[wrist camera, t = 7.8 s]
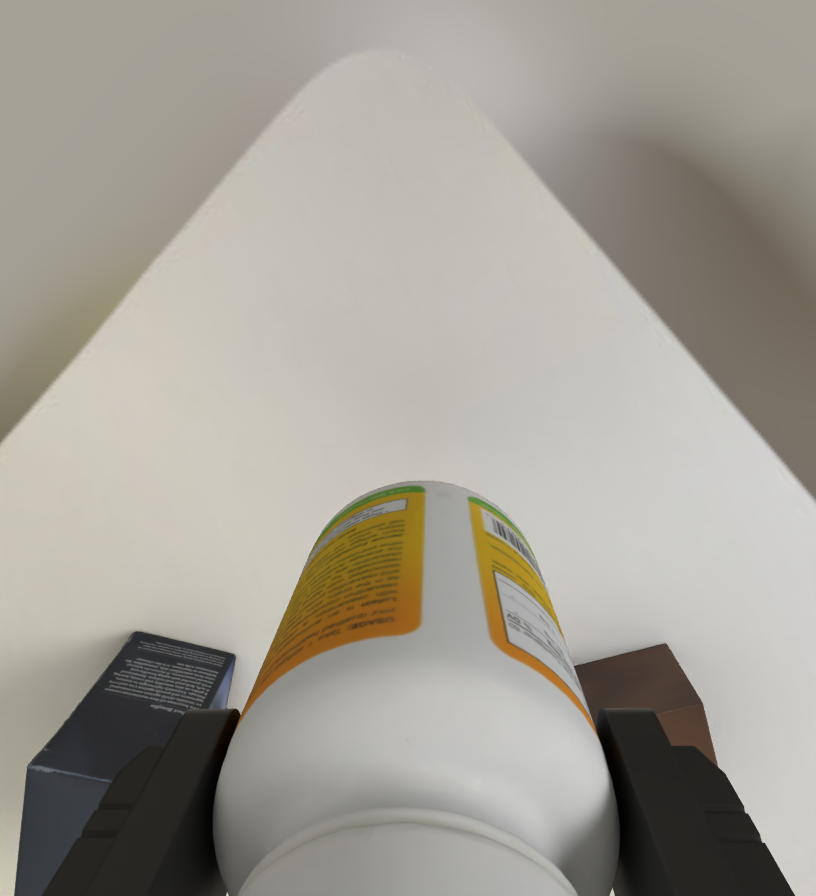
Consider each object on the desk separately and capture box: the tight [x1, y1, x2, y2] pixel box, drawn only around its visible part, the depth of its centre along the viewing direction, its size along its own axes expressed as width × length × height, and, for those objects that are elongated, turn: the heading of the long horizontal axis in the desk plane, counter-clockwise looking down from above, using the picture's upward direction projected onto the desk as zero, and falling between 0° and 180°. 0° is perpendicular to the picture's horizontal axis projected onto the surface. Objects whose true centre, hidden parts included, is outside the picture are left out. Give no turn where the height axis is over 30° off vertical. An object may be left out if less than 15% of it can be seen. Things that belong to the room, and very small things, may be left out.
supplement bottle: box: [213, 481, 620, 896], centre depth 10 cm, size 5×5×10 cm
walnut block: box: [574, 644, 718, 767], centre depth 35 cm, size 10×10×5 cm
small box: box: [14, 632, 236, 896], centre depth 33 cm, size 11×6×10 cm, turn 166°
